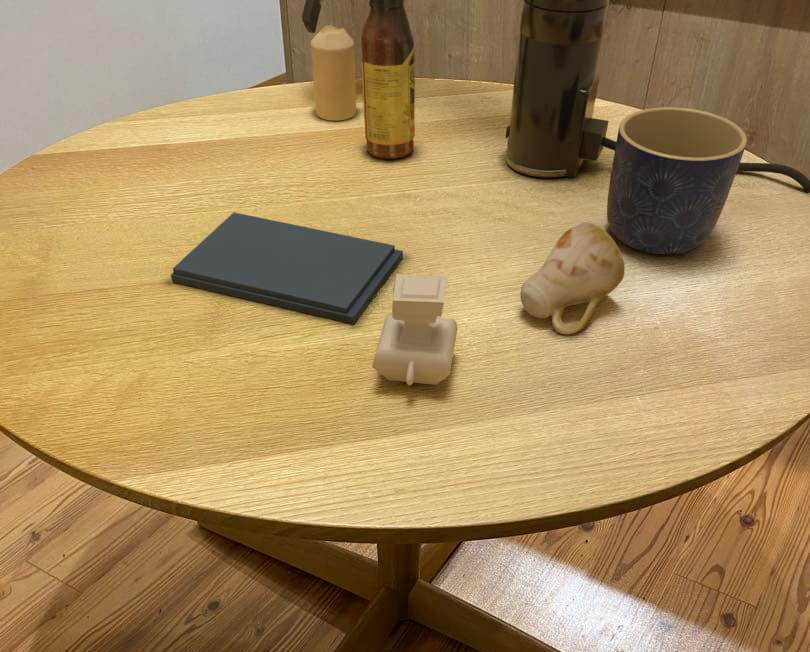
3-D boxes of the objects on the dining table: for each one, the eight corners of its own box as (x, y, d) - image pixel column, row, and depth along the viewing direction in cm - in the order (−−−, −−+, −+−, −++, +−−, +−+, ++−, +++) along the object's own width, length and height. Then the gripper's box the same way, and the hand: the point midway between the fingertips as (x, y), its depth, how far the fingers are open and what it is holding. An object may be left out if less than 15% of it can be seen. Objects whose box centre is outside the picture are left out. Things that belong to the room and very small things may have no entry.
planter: (727, 226, 88) (761, 122, 80) (693, 277, 81) (727, 170, 73) (621, 198, 92) (643, 97, 84) (580, 245, 85) (600, 140, 77)
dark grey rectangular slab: (403, 257, 83) (403, 245, 82) (353, 324, 75) (353, 311, 74) (235, 222, 88) (233, 210, 87) (172, 282, 80) (169, 269, 79)
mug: (494, 310, 77) (528, 203, 74) (563, 326, 83) (598, 227, 79) (544, 330, 72) (583, 216, 68) (614, 346, 78) (653, 242, 74)
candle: (311, 107, 109) (305, 23, 101) (350, 102, 110) (347, 19, 102) (321, 123, 105) (315, 38, 98) (361, 118, 106) (358, 34, 99)
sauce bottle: (422, 156, 99) (426, -35, 84) (375, 164, 97) (370, -29, 82) (402, 136, 103) (403, -50, 88) (357, 143, 101) (350, -45, 86)
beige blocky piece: (386, 338, 74) (385, 254, 68) (457, 344, 73) (462, 260, 67) (370, 399, 68) (368, 314, 62) (447, 406, 68) (452, 321, 61)
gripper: (309, -125, 98) (277, 9, 100) (416, -115, 95) (381, 24, 97) (330, -82, 106) (300, 43, 107) (430, -71, 102) (397, 57, 104)
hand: (339, 33), depth 102 cm, fingers open, 8 cm apart
